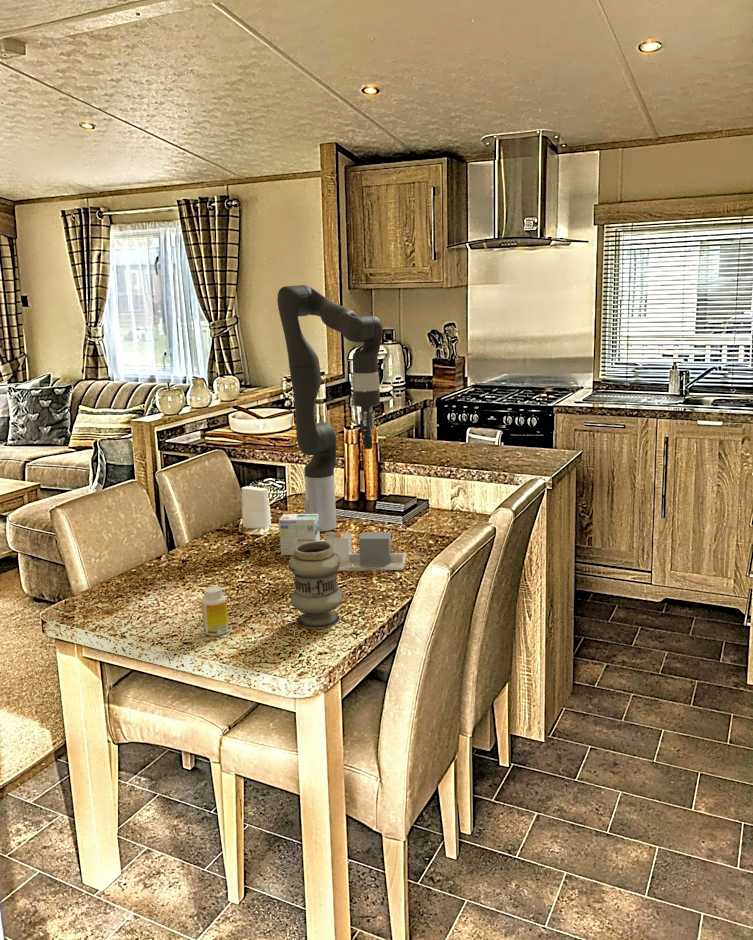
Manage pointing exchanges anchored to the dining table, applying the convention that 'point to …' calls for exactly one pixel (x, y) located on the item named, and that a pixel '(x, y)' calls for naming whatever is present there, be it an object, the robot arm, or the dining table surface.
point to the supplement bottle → (214, 611)
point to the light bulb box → (297, 531)
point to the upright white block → (255, 507)
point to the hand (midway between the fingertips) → (368, 448)
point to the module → (375, 547)
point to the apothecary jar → (315, 584)
